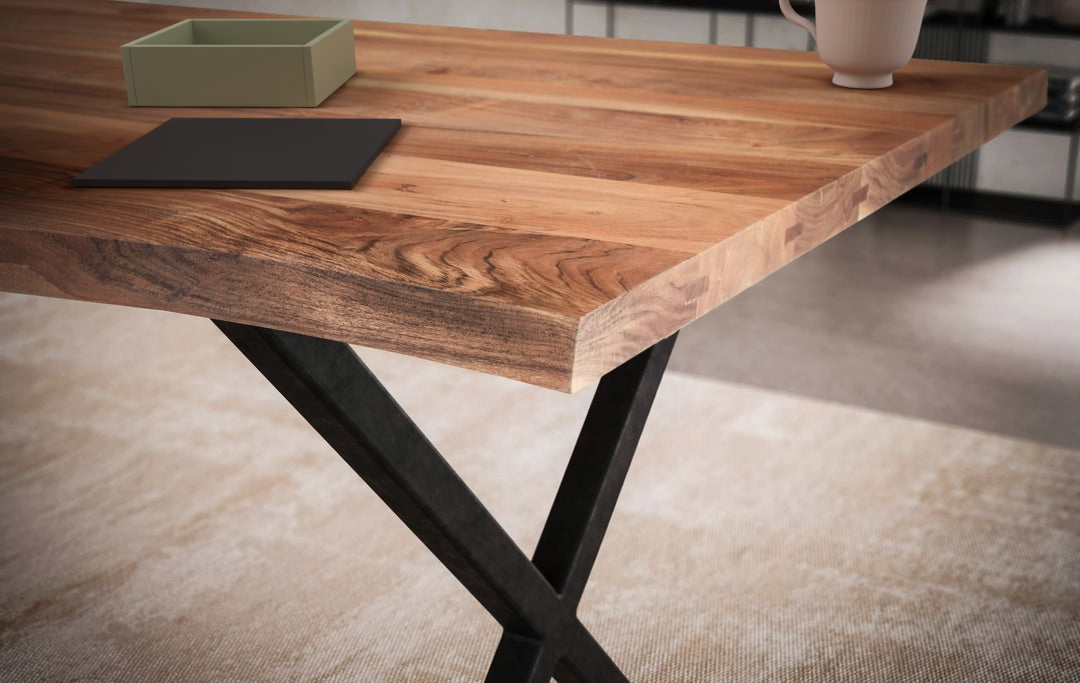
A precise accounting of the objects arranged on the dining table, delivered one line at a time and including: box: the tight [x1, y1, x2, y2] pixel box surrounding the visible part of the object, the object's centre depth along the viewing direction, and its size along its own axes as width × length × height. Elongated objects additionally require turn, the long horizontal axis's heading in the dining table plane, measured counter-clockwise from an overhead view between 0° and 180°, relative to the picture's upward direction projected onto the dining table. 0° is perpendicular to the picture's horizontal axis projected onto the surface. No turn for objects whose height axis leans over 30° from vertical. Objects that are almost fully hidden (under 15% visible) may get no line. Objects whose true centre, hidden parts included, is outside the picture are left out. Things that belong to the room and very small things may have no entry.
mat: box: [71, 117, 403, 190], centre depth 91 cm, size 20×20×1 cm
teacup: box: [778, 0, 928, 90], centre depth 113 cm, size 12×15×10 cm
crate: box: [120, 18, 357, 108], centre depth 114 cm, size 18×18×6 cm
